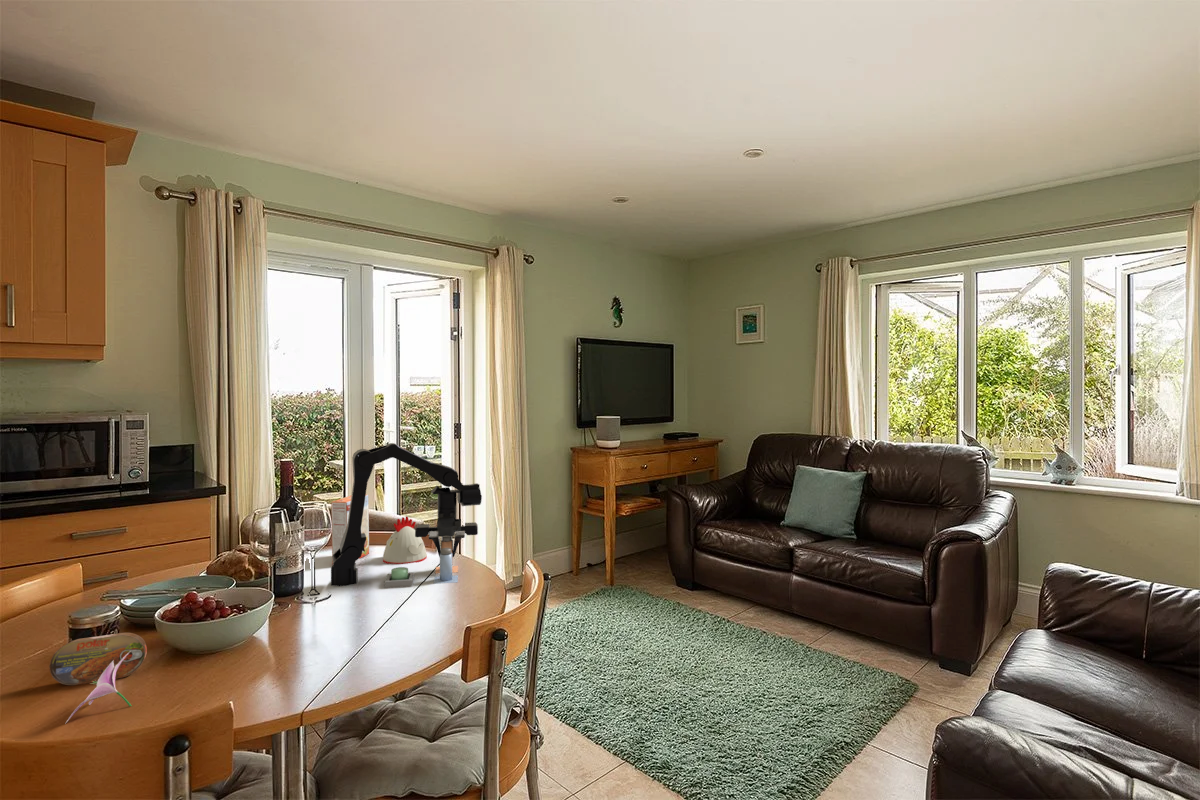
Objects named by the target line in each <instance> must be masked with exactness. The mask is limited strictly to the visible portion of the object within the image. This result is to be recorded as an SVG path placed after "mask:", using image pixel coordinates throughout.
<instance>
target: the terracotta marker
mask: <svg viewBox="0 0 1200 800" xmlns="http://www.w3.org/2000/svg"><path fill="white" fill-rule="evenodd" d="M440 546H441V549H442V548H451V553H452V566H454V565H453V563H454V561H453V560H454V559H453V558H454V557H453V546H454V540H453V536H443V537H441V539H440Z"/></svg>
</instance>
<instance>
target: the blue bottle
mask: <svg viewBox="0 0 1200 800" xmlns="http://www.w3.org/2000/svg"><path fill="white" fill-rule="evenodd" d="M452 566H453V565H452V553H451V548H442V549H441V553H440V557H439V567H440V573H439V576H440V581H450V580H452V576H453V573H452Z"/></svg>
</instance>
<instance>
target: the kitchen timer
mask: <svg viewBox="0 0 1200 800" xmlns="http://www.w3.org/2000/svg"><path fill="white" fill-rule="evenodd" d="M396 521H397V522H396V523H393V526H394V529H395V531H394V532H393V533H391V536H389V538H388V540H386V546H385V548H384V551H383V555H382V561H383V563H385V564H388V565H390V564H391V565H393V564H394V565H403V564H404V565H405V564H407V565H409V564H414V563H421V562H423V561H425V560H426V559H427V555H428V553H427V549H426V547H425V542H424V540H423V539H422V538H423V537H415V526H416V521H413V519H412V518H409V516H405V517H401V519H400V518H397V520H396Z"/></svg>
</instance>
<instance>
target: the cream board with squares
mask: <svg viewBox="0 0 1200 800" xmlns="http://www.w3.org/2000/svg"><path fill="white" fill-rule="evenodd" d="M453 573H459V565H452V574H453ZM434 574H435V576H434V579H433V584H434V585H435V584H453V583H459V582H458V581H459V579H458V578H459V575H458V574H456V575H454V574H453V575H452V580H450V581H440V575H439V576H438V575H437V576H436V574H440V566H435V573H434ZM414 580H415V572H408V579H406V580H391V573H388V574H387V575H386V578H385V579H384V589H394V588H409V587H413V584H414Z"/></svg>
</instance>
